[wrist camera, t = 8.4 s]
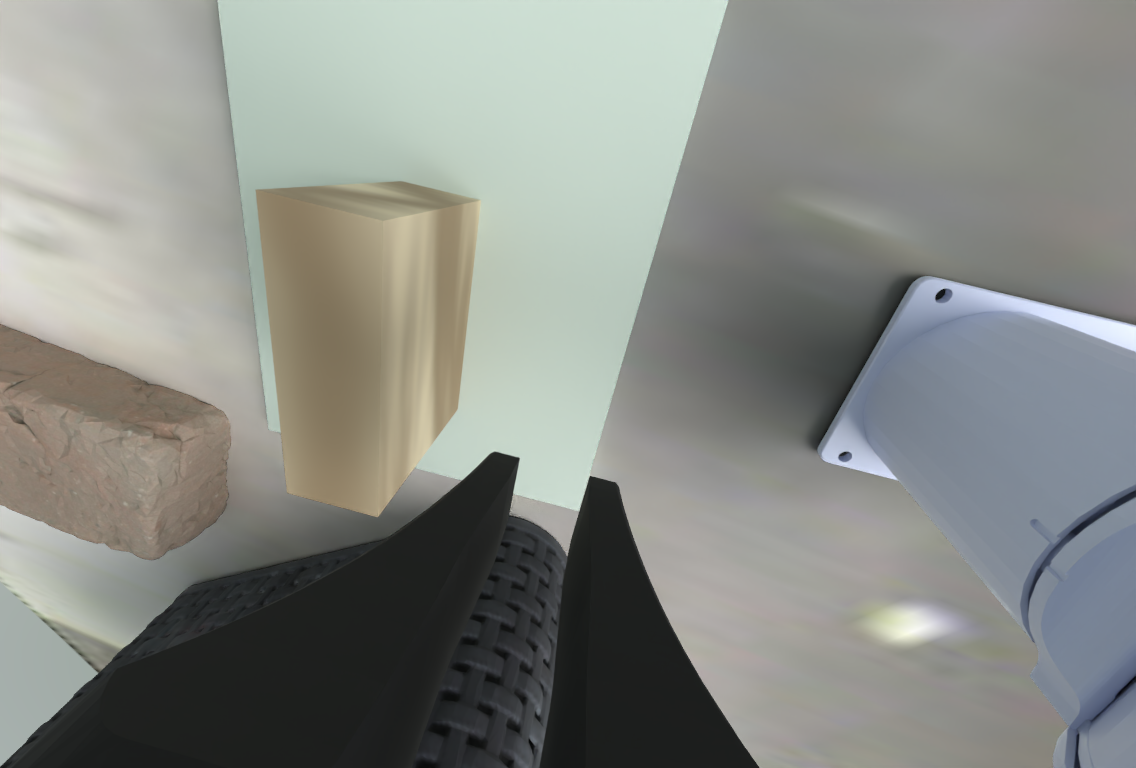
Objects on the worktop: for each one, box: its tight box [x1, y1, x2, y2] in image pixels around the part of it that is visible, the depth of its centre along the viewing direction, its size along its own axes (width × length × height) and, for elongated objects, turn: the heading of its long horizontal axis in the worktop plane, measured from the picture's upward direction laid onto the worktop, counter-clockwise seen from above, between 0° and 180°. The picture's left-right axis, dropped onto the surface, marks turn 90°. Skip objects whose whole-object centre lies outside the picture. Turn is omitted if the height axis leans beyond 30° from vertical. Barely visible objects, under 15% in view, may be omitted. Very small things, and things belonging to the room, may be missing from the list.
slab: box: [256, 181, 481, 517], centre depth 15 cm, size 3×9×7 cm, turn 168°
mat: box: [217, 0, 728, 511], centre depth 18 cm, size 16×20×1 cm
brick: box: [0, 324, 231, 560], centre depth 23 cm, size 17×8×5 cm, turn 70°
